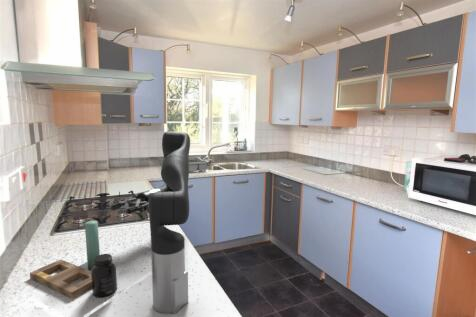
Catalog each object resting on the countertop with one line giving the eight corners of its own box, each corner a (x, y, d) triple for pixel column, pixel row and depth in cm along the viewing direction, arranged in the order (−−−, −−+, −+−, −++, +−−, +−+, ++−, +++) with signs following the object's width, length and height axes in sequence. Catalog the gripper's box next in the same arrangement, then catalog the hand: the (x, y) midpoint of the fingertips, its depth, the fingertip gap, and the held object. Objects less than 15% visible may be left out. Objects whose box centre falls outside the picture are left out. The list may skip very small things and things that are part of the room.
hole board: (102, 284, 92) (102, 275, 91) (72, 301, 83) (72, 291, 82) (61, 267, 101) (60, 258, 101) (30, 281, 93) (29, 272, 92)
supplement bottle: (89, 293, 87) (86, 256, 85) (112, 284, 91) (110, 249, 90) (97, 304, 82) (94, 265, 80) (121, 294, 87) (119, 257, 85)
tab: (113, 265, 103) (113, 263, 103) (91, 278, 95) (90, 275, 95) (97, 259, 107) (96, 257, 107) (74, 271, 99) (73, 268, 99)
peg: (102, 264, 102) (100, 221, 99) (92, 269, 98) (89, 225, 96) (95, 261, 103) (92, 219, 101) (85, 266, 100) (82, 223, 98)
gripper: (137, 188, 126) (105, 197, 111) (162, 192, 119) (132, 203, 105) (138, 204, 127) (107, 215, 113) (162, 209, 120) (133, 222, 106)
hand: (119, 209), depth 109 cm, fingers open, 8 cm apart
